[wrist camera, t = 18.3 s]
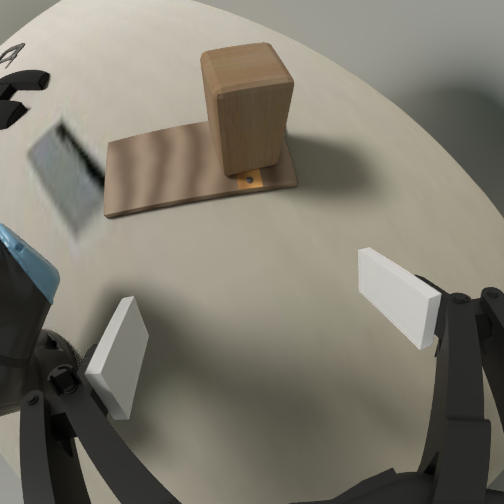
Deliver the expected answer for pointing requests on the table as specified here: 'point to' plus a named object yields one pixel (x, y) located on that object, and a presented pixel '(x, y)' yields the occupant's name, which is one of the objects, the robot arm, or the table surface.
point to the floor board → (179, 171)
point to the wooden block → (246, 105)
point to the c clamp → (18, 48)
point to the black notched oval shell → (7, 112)
